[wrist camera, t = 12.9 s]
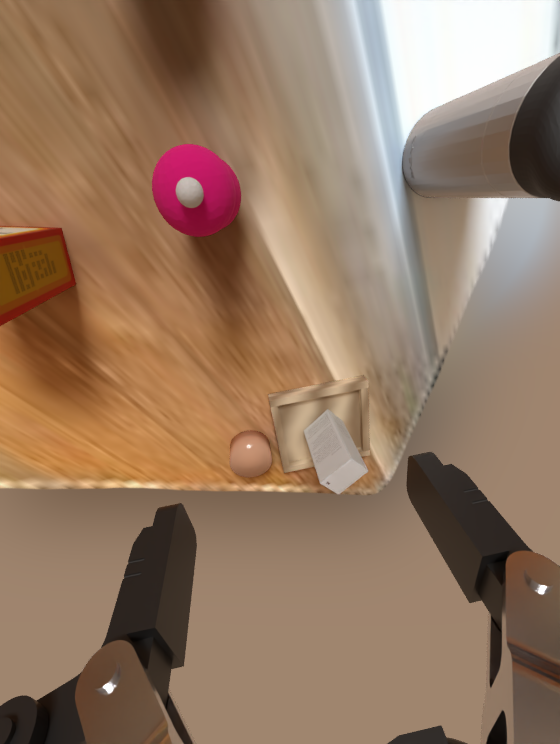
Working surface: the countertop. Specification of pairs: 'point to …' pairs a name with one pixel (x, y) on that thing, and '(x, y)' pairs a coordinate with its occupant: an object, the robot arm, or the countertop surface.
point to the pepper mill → (195, 190)
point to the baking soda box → (31, 268)
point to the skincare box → (334, 453)
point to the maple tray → (307, 405)
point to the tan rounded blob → (250, 454)
